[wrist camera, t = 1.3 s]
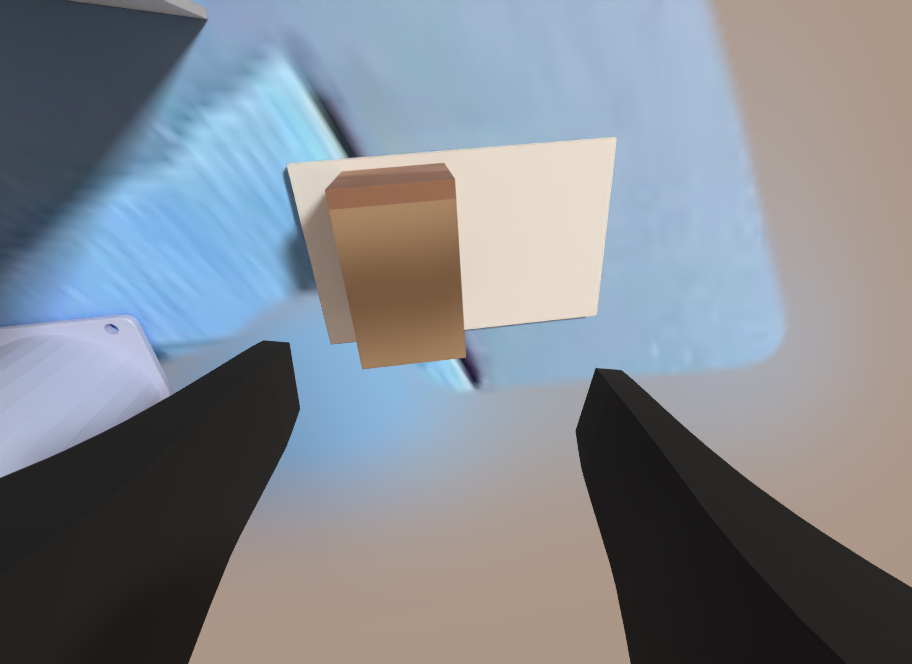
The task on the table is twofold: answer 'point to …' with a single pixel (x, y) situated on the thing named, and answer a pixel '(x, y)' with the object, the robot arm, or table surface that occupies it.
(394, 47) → the table surface
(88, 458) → the robot arm
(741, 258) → the table surface
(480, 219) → the beige board
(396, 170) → the walnut block
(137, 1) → the tall grey box
